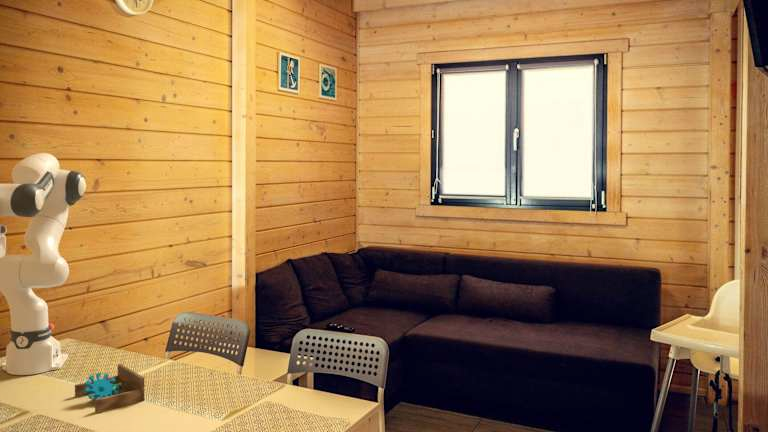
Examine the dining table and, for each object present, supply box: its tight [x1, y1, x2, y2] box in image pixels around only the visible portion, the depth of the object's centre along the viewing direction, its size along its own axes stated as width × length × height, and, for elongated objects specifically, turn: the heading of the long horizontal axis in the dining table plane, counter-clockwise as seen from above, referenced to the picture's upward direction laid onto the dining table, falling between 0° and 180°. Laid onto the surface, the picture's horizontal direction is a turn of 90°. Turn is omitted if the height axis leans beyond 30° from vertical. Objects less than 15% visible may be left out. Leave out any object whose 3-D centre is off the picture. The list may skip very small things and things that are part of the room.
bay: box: [74, 363, 145, 413], centre depth 196 cm, size 14×17×7 cm
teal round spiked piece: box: [84, 372, 122, 400], centre depth 195 cm, size 11×6×10 cm
